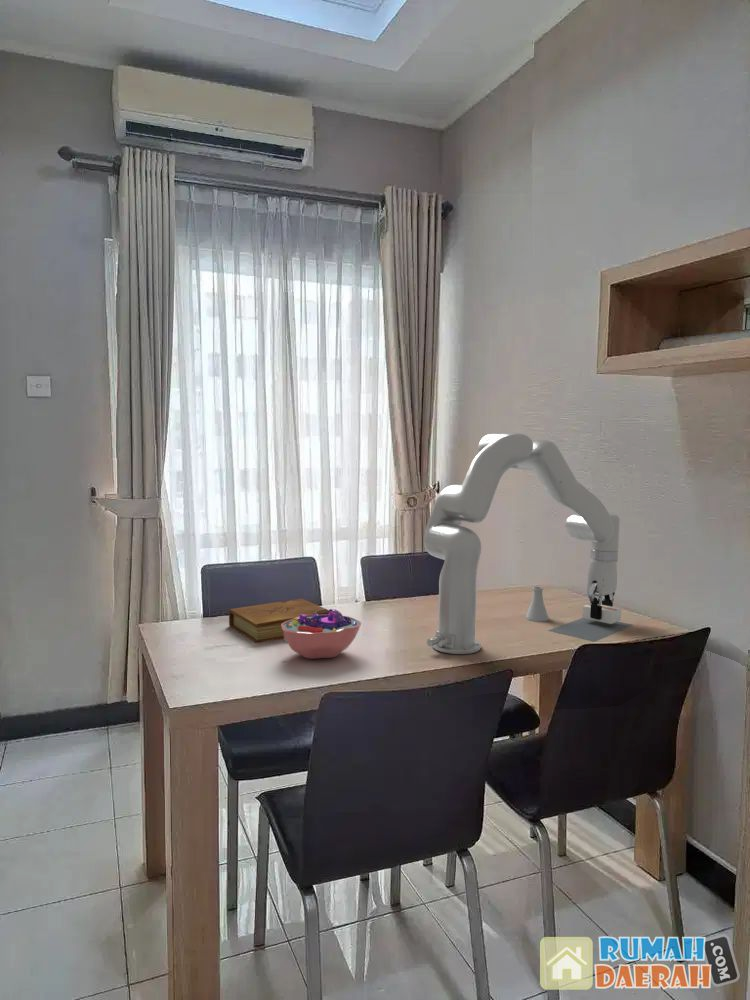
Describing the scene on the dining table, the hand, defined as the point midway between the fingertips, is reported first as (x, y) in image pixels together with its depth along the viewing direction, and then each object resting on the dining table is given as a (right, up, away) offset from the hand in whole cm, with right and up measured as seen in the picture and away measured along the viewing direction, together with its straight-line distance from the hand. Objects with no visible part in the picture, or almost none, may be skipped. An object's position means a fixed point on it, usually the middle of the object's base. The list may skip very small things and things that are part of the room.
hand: (601, 616), depth 200 cm
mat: (-4, -3, -4) cm, 7 cm away
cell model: (-80, -5, -30) cm, 85 cm away
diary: (-93, -3, -7) cm, 93 cm away
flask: (-18, -2, +5) cm, 19 cm away
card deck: (0, -1, 0) cm, 1 cm away
